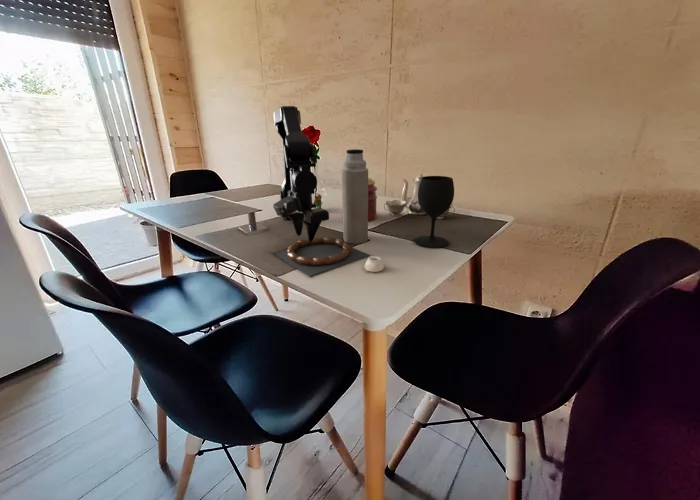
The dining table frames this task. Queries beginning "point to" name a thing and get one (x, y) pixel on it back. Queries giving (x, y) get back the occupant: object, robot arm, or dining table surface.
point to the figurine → (318, 201)
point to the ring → (318, 261)
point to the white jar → (374, 264)
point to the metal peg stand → (252, 224)
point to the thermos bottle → (355, 198)
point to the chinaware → (410, 201)
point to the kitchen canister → (371, 200)
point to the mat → (320, 252)
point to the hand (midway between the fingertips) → (304, 238)
